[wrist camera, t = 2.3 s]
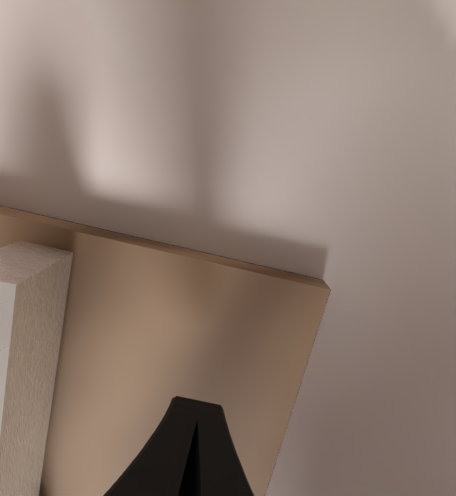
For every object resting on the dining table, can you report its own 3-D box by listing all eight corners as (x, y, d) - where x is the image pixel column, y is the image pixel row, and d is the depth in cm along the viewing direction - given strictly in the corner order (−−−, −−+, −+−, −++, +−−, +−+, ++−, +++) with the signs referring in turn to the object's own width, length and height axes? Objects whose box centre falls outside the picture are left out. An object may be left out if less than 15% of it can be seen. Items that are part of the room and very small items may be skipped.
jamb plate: (323, 280, 13) (330, 289, 12) (242, 538, 16) (243, 563, 15) (-198, 160, 12) (-236, 159, 11) (-188, 455, 15) (-217, 476, 14)
